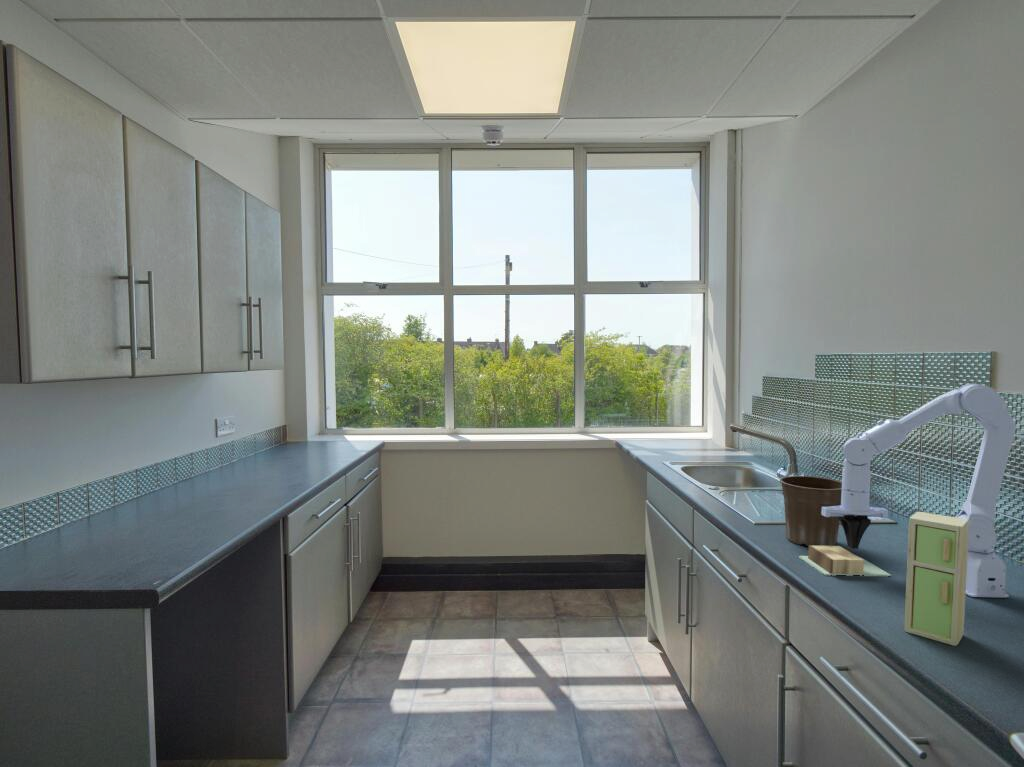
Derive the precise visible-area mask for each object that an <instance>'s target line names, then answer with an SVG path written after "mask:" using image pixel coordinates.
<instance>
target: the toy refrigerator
mask: <svg viewBox="0 0 1024 767" xmlns="http://www.w3.org/2000/svg"><path fill="white" fill-rule="evenodd" d="M968 532H969V520H967V519H962V518H956V516H955V517H953V516H949V515H943V514H937V513H936V514H935V513H930V512H926V511H916V512H915V513H913V514H912V515H910V517H909V520H908V534H907V538H908V540H907V558H906V559H907V560H906V561H907V563H906V579H905V580H906V582H905V586H906V587H905V605H904V606H905V607H904V609H905V610H904V632H905V633H909V634H912V635H915V636H919V637H923V638H926V639H930V640H933V641H935V642H940V643H943V644H947V645H950V646H953V647H956V646H958V644H959V643H960V641H961V640H962V639H963V636H964V631H965V615H966V614H965V613H966V596H967V594H966V574H967V553H968Z"/></svg>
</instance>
